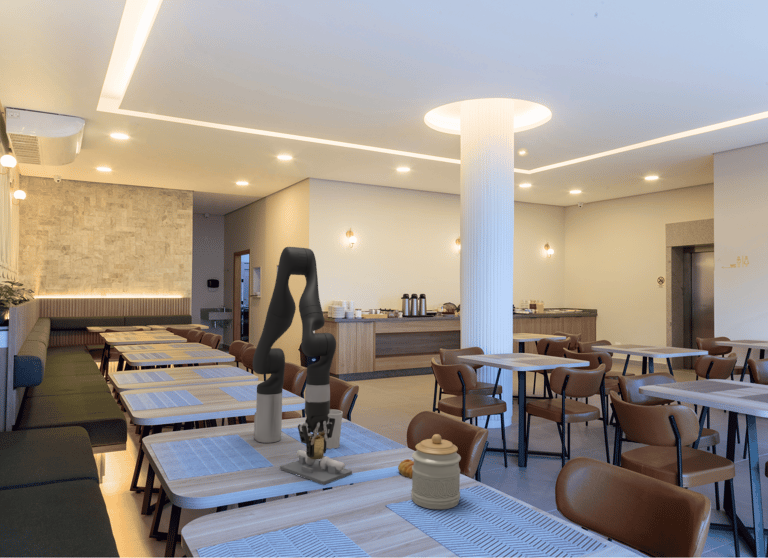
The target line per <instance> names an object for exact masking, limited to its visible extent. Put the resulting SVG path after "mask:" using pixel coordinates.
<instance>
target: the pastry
mask: <svg viewBox="0 0 768 558" xmlns="http://www.w3.org/2000/svg"><path fill="white" fill-rule="evenodd" d="M413 465H414V460H413V459H412V460H411V459H409V458H406V459H404V460H403V461H400V463H399V464H398V467H397V471H398V472H399V474H401V475H402V476H403V477H405V478H408V479H410V480H412V471H413V470H412V466H413Z"/></svg>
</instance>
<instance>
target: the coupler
mask: <svg viewBox="0 0 768 558" xmlns="http://www.w3.org/2000/svg"><path fill="white" fill-rule="evenodd" d="M310 440H311V437H310ZM313 445H314V457H309V458H310V459H316V460H321V459H322V458H323V457H324V455H325V453H324V437H323V436H322V434H318V433H317V436H316V438H315V440H314V444H313Z"/></svg>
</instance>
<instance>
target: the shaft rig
mask: <svg viewBox="0 0 768 558" xmlns="http://www.w3.org/2000/svg"><path fill="white" fill-rule="evenodd" d="M296 457H297V458H298V460H296V461H292V462H289V463H286V464H283V465H280V466H279V470H280V469H281V471H283V470H284V471H283V472H285V471H287V472H286V473H288V472H291V473H294V474H297V475H300V476H302V477H305V478H308V479H310V480H309V481H311V480H312V481H311V482H314V483H317V484H320V485H322V486H325V485H327V484H330V483H333V482H335V481H338V480H340V479H343V478H346V477H348V476H351V475H353V470H351V469H349V468H348V469H347V468H345V467H346V465H345V463H344V462H341V461H339V460H335V459H332V458H330V457H329V456H324V457H323V458H322V459H310V458H309V457H308V456H307V454H306V451H305V450H303V449H299V450H297V452H296ZM291 473H290V474H291ZM294 474H293V475H294ZM297 475H296V476H297ZM300 476H299V477H300ZM302 477H301V478H302ZM305 478H304V479H305ZM308 479H307V480H308Z"/></svg>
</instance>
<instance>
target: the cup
mask: <svg viewBox="0 0 768 558" xmlns="http://www.w3.org/2000/svg"><path fill="white" fill-rule="evenodd" d="M343 414H344V413H343V411H342V410H339V409H330V413H329V414H328V417H330V418H335V424H334V428H333V433H332V437H331V438H328V440H327V444H326V449H327V448H328V449H329V450H331V449H332V448H334V449H337V448H340V447H341V445H340V442H341V432H342V420H343ZM328 433H329V430H328ZM328 449H327V450H328Z"/></svg>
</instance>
